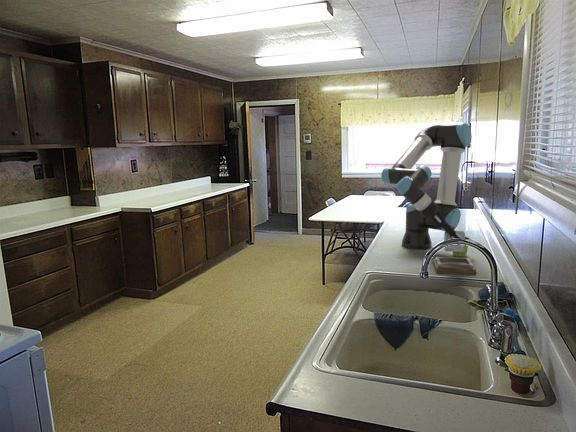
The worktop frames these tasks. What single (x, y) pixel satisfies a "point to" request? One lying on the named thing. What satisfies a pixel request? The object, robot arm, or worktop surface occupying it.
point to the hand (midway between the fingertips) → (463, 243)
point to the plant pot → (462, 252)
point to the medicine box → (454, 247)
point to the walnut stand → (453, 265)
